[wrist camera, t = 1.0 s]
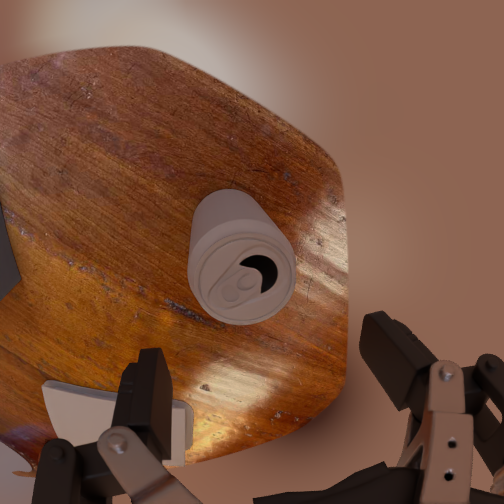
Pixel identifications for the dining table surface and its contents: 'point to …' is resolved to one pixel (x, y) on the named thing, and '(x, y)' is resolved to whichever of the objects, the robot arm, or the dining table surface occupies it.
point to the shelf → (6, 262)
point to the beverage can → (239, 259)
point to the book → (106, 417)
